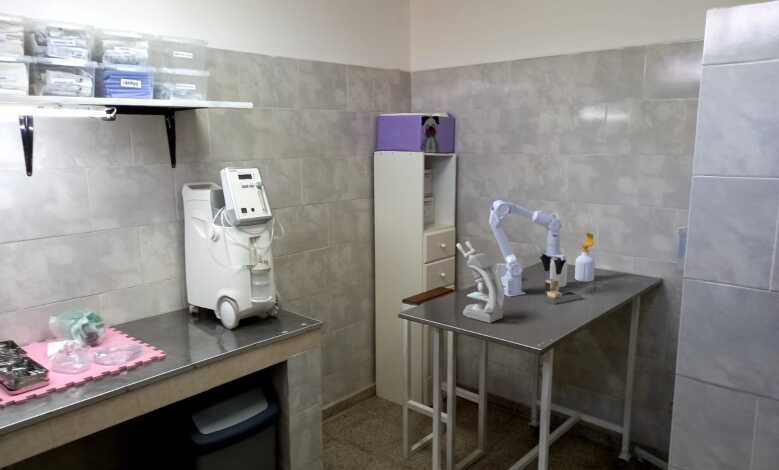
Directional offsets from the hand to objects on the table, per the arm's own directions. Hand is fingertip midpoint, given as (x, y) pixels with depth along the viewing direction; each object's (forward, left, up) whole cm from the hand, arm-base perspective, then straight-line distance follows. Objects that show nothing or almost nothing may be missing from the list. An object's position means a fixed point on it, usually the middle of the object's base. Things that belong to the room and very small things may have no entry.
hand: (552, 272), depth 257 cm
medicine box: (-6, +28, -10) cm, 30 cm away
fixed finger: (-8, -11, -8) cm, 16 cm away
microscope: (-49, -12, -10) cm, 52 cm away
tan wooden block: (0, 0, -10) cm, 10 cm away
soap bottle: (+30, +10, -10) cm, 33 cm away
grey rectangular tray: (-4, -11, -10) cm, 15 cm away
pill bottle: (+11, +8, -10) cm, 17 cm away
